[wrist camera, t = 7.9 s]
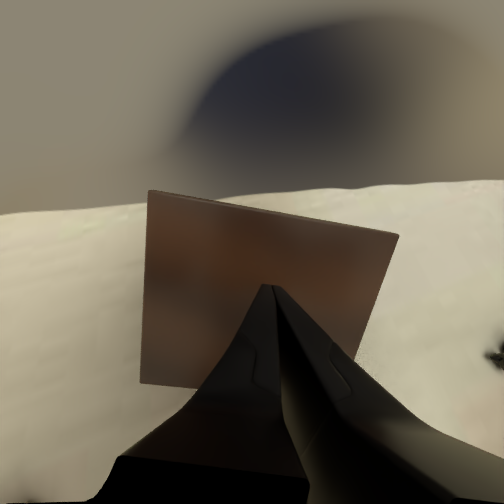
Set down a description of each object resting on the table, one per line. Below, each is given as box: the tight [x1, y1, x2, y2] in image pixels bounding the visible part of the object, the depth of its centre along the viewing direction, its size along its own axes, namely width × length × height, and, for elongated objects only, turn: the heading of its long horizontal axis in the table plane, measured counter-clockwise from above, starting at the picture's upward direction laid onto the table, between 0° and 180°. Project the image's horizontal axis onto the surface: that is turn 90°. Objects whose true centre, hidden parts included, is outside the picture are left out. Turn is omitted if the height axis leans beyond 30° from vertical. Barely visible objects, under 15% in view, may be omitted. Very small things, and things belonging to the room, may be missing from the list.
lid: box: [140, 190, 399, 389], centre depth 11 cm, size 10×11×1 cm
